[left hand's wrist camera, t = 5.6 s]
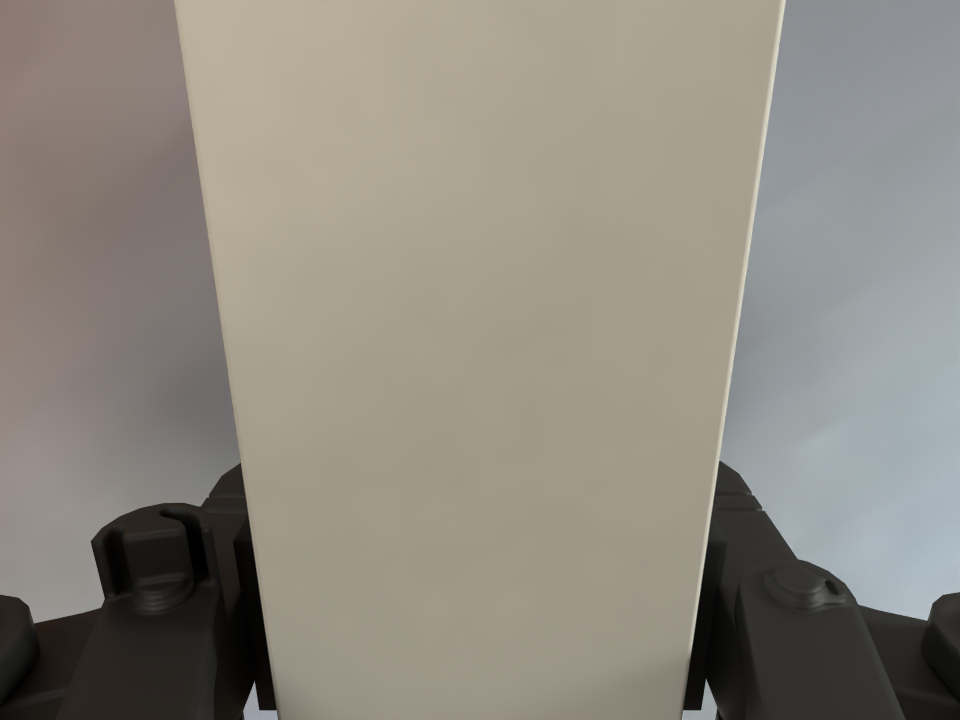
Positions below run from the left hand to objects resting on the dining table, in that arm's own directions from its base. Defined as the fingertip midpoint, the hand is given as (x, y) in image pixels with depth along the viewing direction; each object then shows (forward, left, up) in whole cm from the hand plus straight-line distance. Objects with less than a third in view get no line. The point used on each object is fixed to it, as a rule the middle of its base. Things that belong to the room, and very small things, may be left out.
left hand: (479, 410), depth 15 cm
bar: (+16, +11, -1) cm, 19 cm away
